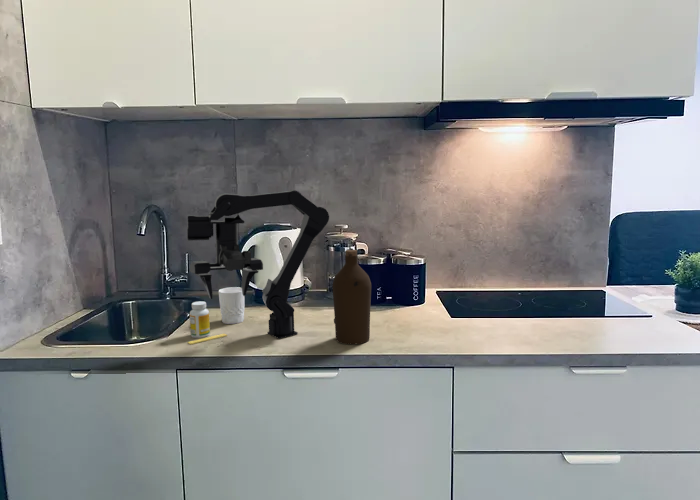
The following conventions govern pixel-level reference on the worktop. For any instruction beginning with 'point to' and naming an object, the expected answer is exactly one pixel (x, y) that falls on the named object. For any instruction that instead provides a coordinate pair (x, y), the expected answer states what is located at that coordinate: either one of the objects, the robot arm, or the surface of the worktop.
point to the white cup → (231, 305)
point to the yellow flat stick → (207, 339)
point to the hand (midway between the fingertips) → (227, 297)
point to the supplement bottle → (199, 320)
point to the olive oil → (352, 302)
